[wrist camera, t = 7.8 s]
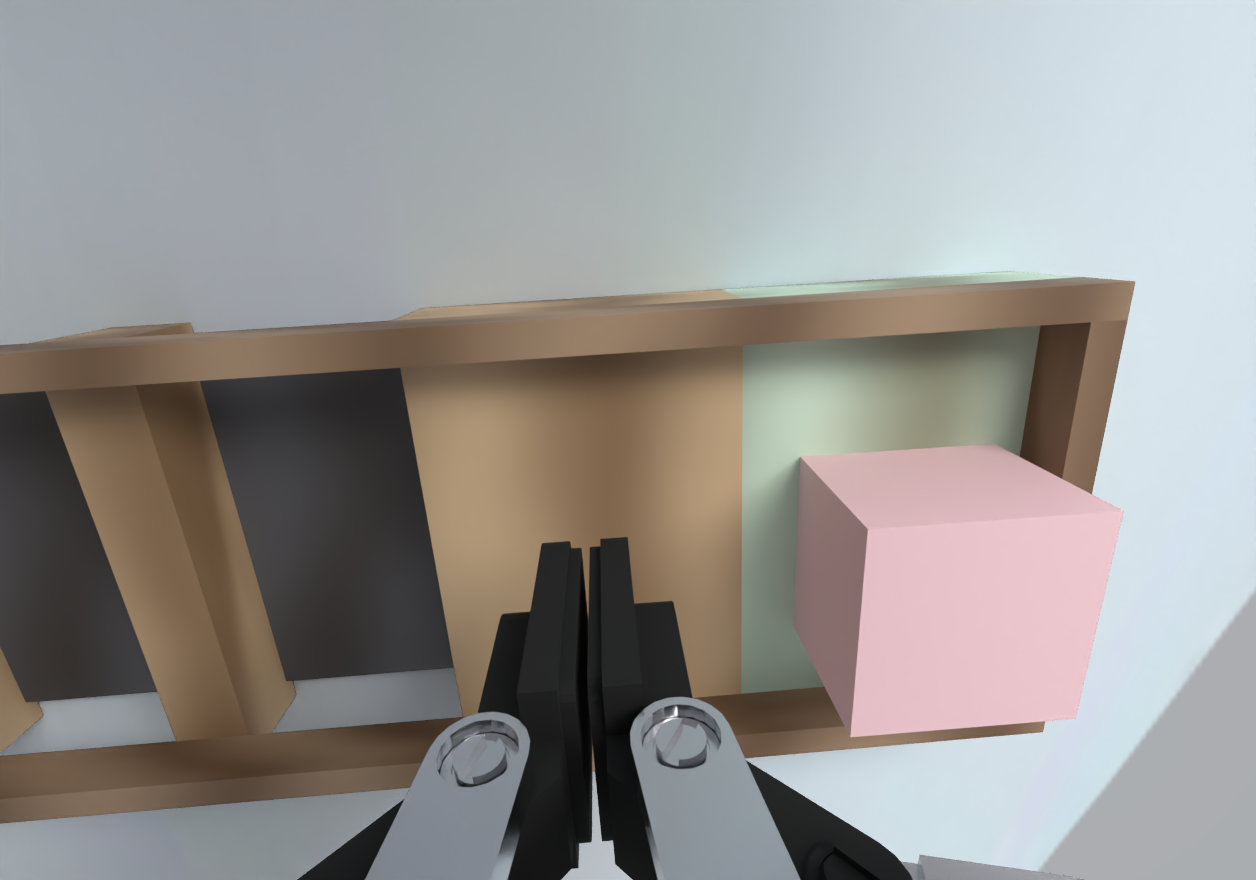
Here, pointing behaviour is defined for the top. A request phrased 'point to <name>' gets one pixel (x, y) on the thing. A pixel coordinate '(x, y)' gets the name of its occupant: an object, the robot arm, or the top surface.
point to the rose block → (948, 586)
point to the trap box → (473, 503)
